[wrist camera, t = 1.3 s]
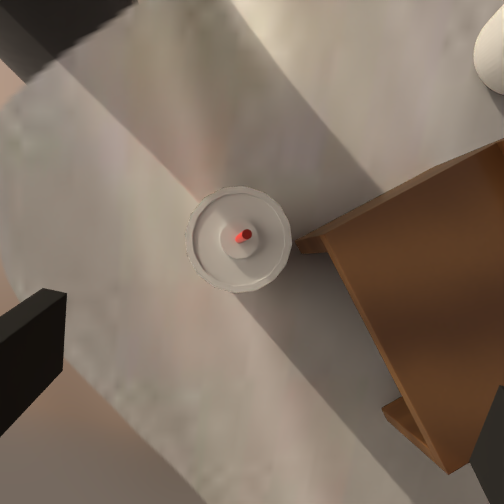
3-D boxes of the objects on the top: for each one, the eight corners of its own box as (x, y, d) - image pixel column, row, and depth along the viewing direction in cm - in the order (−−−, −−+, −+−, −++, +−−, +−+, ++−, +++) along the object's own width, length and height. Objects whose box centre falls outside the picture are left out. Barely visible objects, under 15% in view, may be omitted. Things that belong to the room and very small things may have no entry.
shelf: (293, 240, 35) (335, 231, 24) (435, 166, 36) (538, 123, 25) (387, 421, 36) (472, 496, 24) (523, 341, 37) (664, 377, 25)
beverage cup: (179, 218, 34) (161, 189, 20) (256, 195, 35) (290, 151, 21) (204, 295, 34) (202, 319, 20) (280, 270, 35) (329, 277, 21)
